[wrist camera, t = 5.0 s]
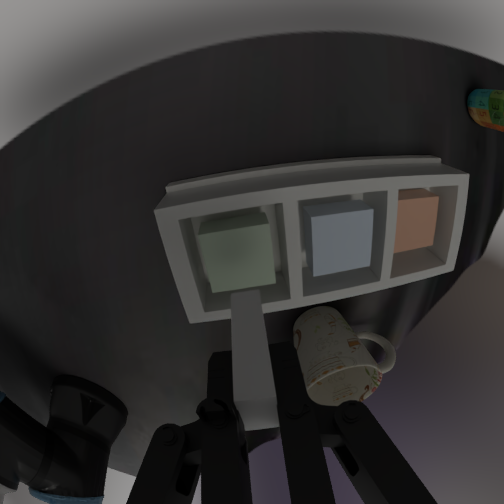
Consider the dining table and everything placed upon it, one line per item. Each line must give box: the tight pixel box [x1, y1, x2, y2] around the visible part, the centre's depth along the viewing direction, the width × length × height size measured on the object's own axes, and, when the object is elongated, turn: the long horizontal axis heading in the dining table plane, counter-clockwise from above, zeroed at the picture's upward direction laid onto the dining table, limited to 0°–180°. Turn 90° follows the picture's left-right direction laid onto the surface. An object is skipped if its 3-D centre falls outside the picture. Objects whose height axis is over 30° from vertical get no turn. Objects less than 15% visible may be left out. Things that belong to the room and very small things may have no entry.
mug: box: [293, 306, 396, 406], centre depth 27 cm, size 8×13×10 cm, turn 89°
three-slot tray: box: [154, 155, 469, 324], centre depth 22 cm, size 26×11×6 cm, turn 98°
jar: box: [467, 89, 504, 132], centre depth 16 cm, size 5×5×8 cm
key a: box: [198, 212, 276, 293], centre depth 21 cm, size 5×5×2 cm
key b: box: [303, 199, 374, 277], centre depth 21 cm, size 5×5×2 cm
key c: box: [393, 189, 439, 253], centre depth 22 cm, size 5×5×2 cm
